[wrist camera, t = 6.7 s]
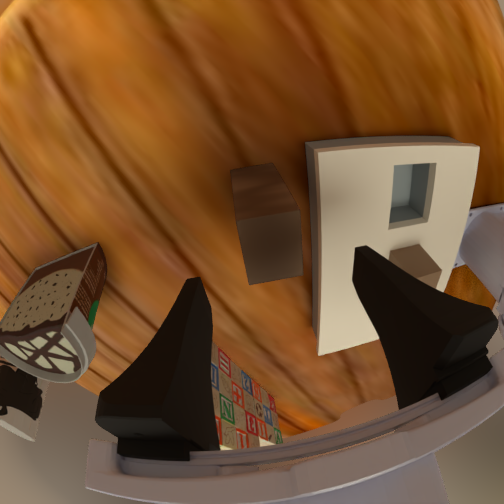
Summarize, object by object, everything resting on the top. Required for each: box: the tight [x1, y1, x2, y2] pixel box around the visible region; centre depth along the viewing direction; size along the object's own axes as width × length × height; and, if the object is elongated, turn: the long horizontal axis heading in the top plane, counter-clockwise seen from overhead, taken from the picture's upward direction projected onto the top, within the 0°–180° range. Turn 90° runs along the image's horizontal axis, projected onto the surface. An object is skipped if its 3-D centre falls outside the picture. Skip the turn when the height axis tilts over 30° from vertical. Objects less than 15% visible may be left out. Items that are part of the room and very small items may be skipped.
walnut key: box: [230, 163, 303, 285], centre depth 17 cm, size 3×4×8 cm
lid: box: [314, 142, 480, 356], centre depth 20 cm, size 15×21×4 cm
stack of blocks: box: [211, 341, 283, 450], centre depth 30 cm, size 21×6×12 cm, turn 25°
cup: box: [0, 355, 49, 441], centre depth 20 cm, size 7×7×15 cm
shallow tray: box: [305, 136, 462, 339], centre depth 22 cm, size 14×20×3 cm
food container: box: [0, 243, 107, 383], centre depth 19 cm, size 12×6×10 cm, turn 104°
